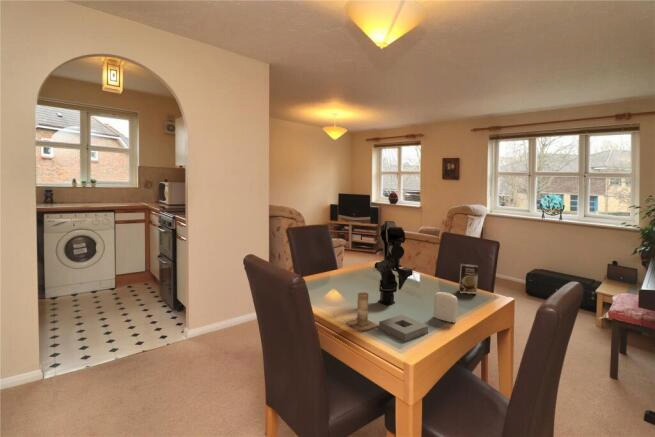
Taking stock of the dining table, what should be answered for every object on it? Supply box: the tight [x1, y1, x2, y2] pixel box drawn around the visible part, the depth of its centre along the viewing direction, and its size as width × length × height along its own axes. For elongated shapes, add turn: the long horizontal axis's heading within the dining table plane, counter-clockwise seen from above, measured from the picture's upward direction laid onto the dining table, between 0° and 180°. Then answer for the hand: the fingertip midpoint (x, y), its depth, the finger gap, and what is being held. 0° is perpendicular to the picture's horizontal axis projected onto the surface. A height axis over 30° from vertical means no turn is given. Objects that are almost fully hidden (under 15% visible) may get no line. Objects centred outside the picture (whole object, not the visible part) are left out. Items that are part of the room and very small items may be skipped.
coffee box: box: [458, 263, 479, 293], centre depth 193 cm, size 9×6×16 cm
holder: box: [378, 314, 429, 342], centre depth 139 cm, size 14×14×3 cm
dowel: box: [356, 291, 369, 326], centre depth 142 cm, size 4×4×13 cm
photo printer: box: [433, 291, 458, 323], centre depth 152 cm, size 10×4×12 cm, turn 47°
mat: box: [345, 318, 379, 333], centre depth 143 cm, size 10×10×1 cm
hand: (392, 286), depth 156 cm, fingers open, 9 cm apart
